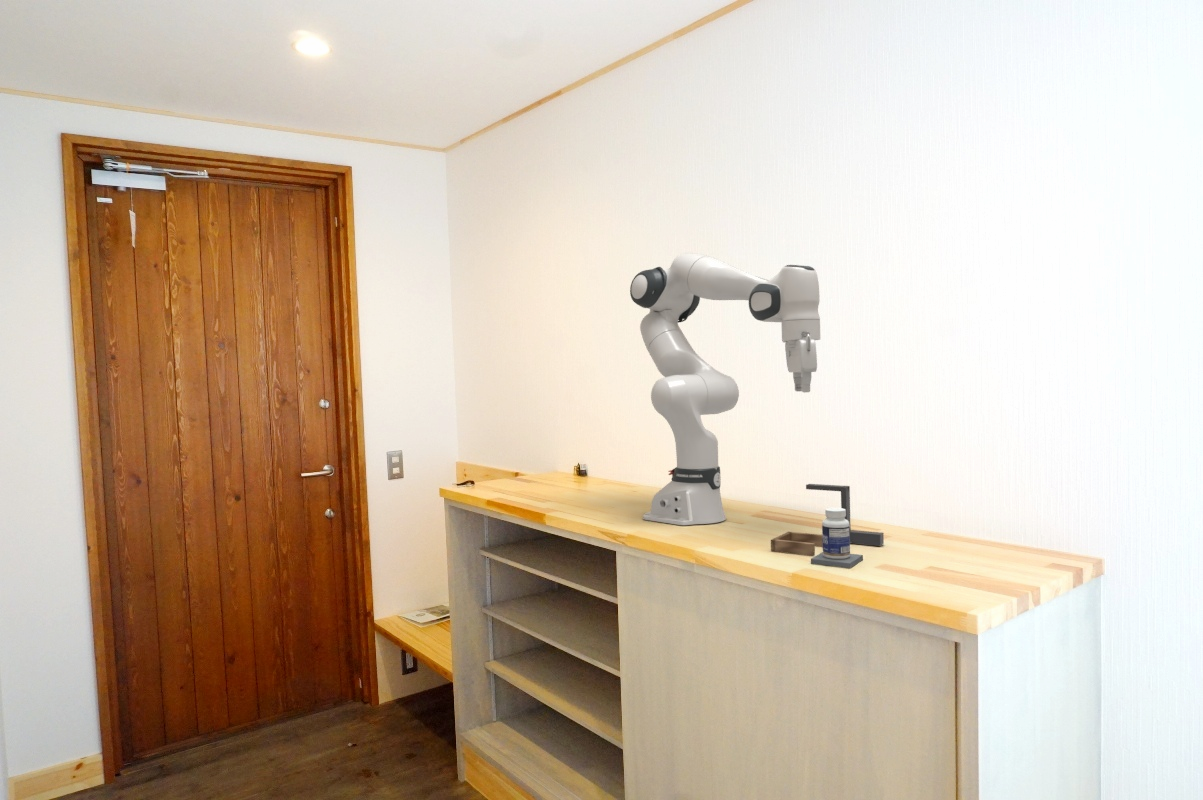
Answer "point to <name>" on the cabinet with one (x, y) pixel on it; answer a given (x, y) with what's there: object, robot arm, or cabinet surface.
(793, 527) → the cabinet surface
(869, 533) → the gate
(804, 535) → the cradle
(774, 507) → the cabinet surface
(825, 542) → the pill bottle
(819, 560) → the mat
